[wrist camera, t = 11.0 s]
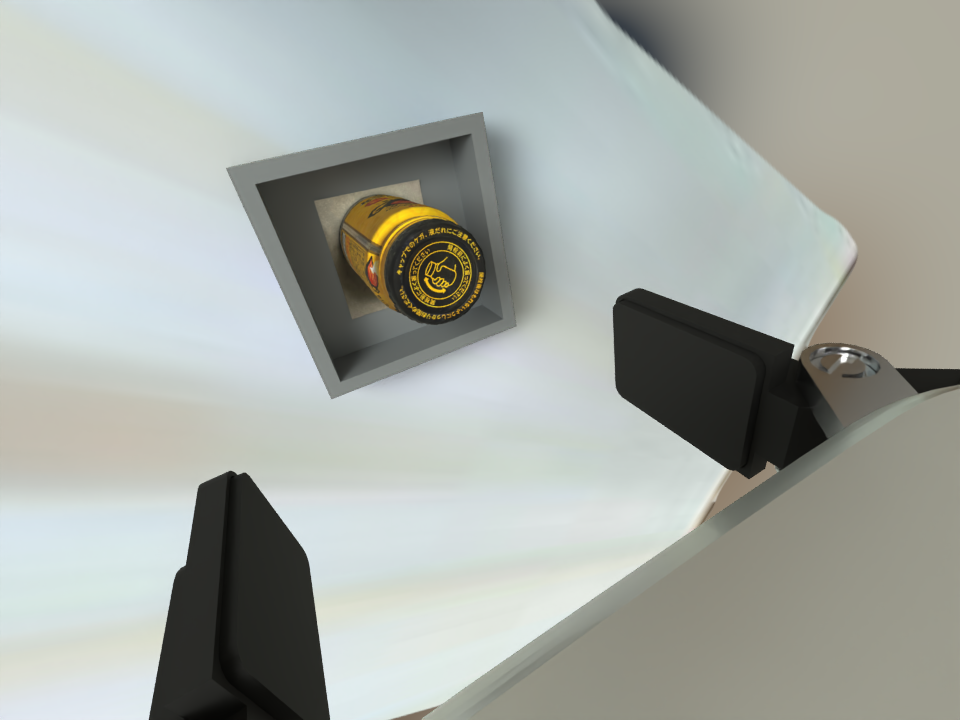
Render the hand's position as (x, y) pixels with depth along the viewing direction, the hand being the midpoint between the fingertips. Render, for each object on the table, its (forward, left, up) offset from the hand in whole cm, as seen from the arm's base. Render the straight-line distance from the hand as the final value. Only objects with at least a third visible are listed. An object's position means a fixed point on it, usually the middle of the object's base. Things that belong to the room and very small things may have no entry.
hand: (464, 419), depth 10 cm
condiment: (+1, +3, -24) cm, 24 cm away
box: (+1, +4, -24) cm, 24 cm away
